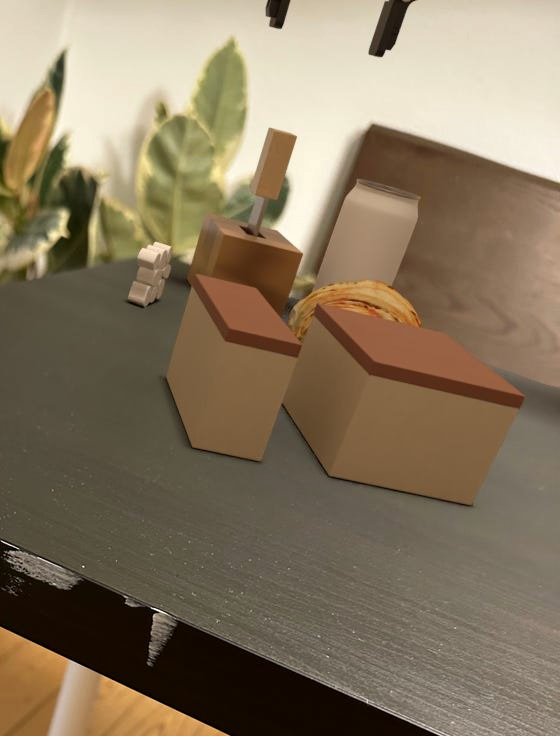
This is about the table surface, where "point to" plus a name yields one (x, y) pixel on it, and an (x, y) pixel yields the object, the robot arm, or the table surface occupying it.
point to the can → (369, 235)
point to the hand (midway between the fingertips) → (325, 42)
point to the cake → (398, 405)
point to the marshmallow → (151, 273)
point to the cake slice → (230, 367)
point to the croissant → (354, 304)
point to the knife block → (247, 258)
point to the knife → (270, 174)
